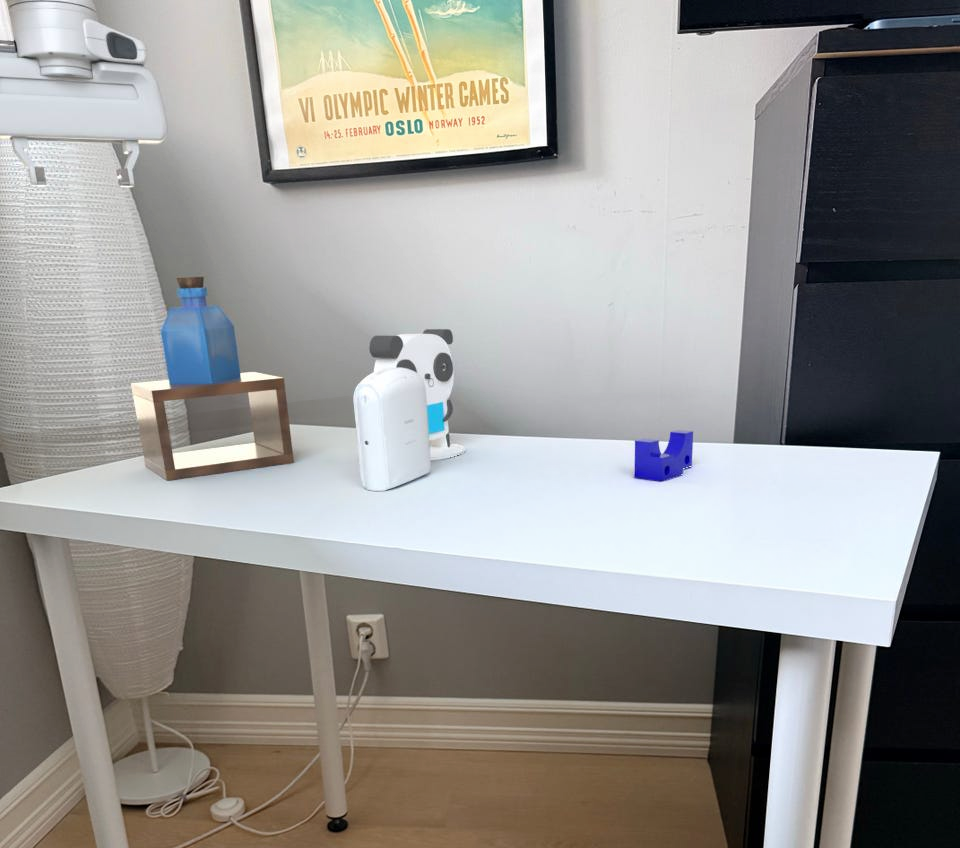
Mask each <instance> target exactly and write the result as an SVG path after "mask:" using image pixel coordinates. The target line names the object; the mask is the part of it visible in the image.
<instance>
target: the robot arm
mask: <svg viewBox="0 0 960 848" xmlns="http://www.w3.org/2000/svg"><path fill="white" fill-rule="evenodd" d="M5 2H6V5H7V9H8V15H9V21H10V26H11V31H12V36H13V40H5V39H0V140H2V141H3V140H4V141H10V142H11V147H12V151H13V153H14V155H15V156H16V157H17V158H18V160H19V161H20V163H21V164H22V165H23V167H24V168H25V169H27V172H28V178H29V183H30V186H31V187H46V186H47V178H46V176H45V174H46V173H45V167H44V166H36V164H35V163H34V162H33V161H32V159H31V158H30V157H29V155H28V153H26V152H27V151H28V149H29V147H30V146H29V142H28V141H30V142H31V141H33V142H34V141H35V142H64V143H65V142H67V143H95V144H96V143H97V144H98V143H100V144H121V146H122V147H121V148H122V153H123V154H124V155H127V159H126V161H125V164H124V167H123V168H118V169H116V170H115V172H116V177H117V179H118V180H117V184H118V187H120V188H133V187H135V177H134V171H133V169H134V167H135V165H136V163H137V160H138V157H139V154H140V145H160V144H162V142H164V141H165V139H166V138H167V136H168V135H169V124H168V119H167V113H166V109H165V104H164V100H163V96H162V92H161V89H160V85H159V83H158V81H157V79H156V77H155V75H154V74H153V72H151V70H150V69H148V68H147V67H146V66H145V65H146V63H147V61H148V50H147V46H146V44H145V43H144V42H143V41H142V40H139V39H138V38H135V37H134V36H131V35H128V34H126V33H123V32H121V31H118V30H116V29H113V28H111V27H109V26H107V25H105V24H102V23H100V22H99V18H98V11H97V8H96V5H95V3H94V0H5Z"/></svg>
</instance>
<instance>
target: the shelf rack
mask: <svg viewBox="0 0 960 848" xmlns="http://www.w3.org/2000/svg"><path fill="white" fill-rule="evenodd" d="M240 375H241V378H236V379H231V380H226V381H221V382H217V383H205V384H169V379H163V380H162V379H161V380H153V381H142V382H140V381H139V382H131V383H130V387H131V394H132V398H133V403H134V404H133V405H134V410H135V414H136V415H135V416H136V421H137V426H138V432H139V437H140V443H141V449H142V454H143V460H144V466H145V468H148V469H149V470H150V471H152V472H154V473H155V474H156V475H158V476H159V477H161V478H162V479H163V480H165V481H167V482H168V481H177V480H182V479H188V478H189V479H190V478H197V477H204V476H209V475H217V474H224V473H225V474H226V473H232V472H238V471H239V472H240V471H246V470H253V469H260V468H266V467H273V466H279V465H288V464H294V463H295V460H294V451H293V443H292V435H291V434H292V433H291V426H290V425H291V424H290V419H289V410H288V408H289V407H288V401H287V392H286V384H285V377H281V376H278V375H277V376H276V375H273V374H272V375H271V374H266V373H261V372H256V371H248V372H240ZM246 393H247V395H248V401H249V403H248V404H249V409H250V410H249V411H250V416H251V417H250V418H251V425H252V432H253V439H254V442H251V443H250V442H249V443H244V444H236V445H228V446H220V447H211V448H204V449H197V450H196V449H195V450H188V451H181V452H173V446H172V441H171V436H170V430H169V424H168V418H167V411H166V406H165V402H168V401H178V400H180V401H181V400H189V399H199V398H207V397H209V398H210V397H219V396H228V395H237V394H246Z"/></svg>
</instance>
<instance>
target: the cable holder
mask: <svg viewBox="0 0 960 848" xmlns="http://www.w3.org/2000/svg"><path fill="white" fill-rule="evenodd" d="M693 447H694V431H693V430H683V429H676V430H672V431H670V432H669V439H668V443H667V446H666V448H665V449H664V451H663V453H662V452H661V448H660V440H659V439H651V438H641V439H637V440H634V479H638V480H639V479H640V480H646V481H647V480H648V481H654V482H661V481H662V482H664V480H665V481H668V480H671V479H674V478H673V477H675V478H677V477H676V476H678V477H680V476H679V475H681V474H683V475H684V470H683V468H686V467H689V466H692V467H693V451H694V450H693ZM681 476H682V475H681ZM670 478H671V479H670ZM667 479H668V480H667Z"/></svg>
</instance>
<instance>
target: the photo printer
mask: <svg viewBox="0 0 960 848" xmlns="http://www.w3.org/2000/svg"><path fill="white" fill-rule="evenodd" d="M352 400H353V401H352V402H353V411H354V420H355V431H356V440H357V451H358V462H359V471H360V482H361V485H362V487H363V488H365V490H367V491H370V492H371V491H372V492H386V491H388V490H390V489H393V488H396V487H399V486H402V485H404V484H406V483H409V482H411V481H414V480H416V479H418V478H420V477H422V476H425V475H427V474H429V473H430V472H431V469H432V460H431V458H430V442H429V427H428V413H427V399H426V388H425V384H424V381H423V379H422V378H421V376H420V375H419V374H418V373H416V372H414V371H412V370H410V369H407V368H395V367H388V368H382V369H379V370H377V371H375V372H374V371H373V372H371V373H369V374H368V375H367V376H365V377H364V378H363V379H362V380H361V381H360V382H359V383H358V384H357V385H356V387H355V389H354V392H353V399H352Z"/></svg>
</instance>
